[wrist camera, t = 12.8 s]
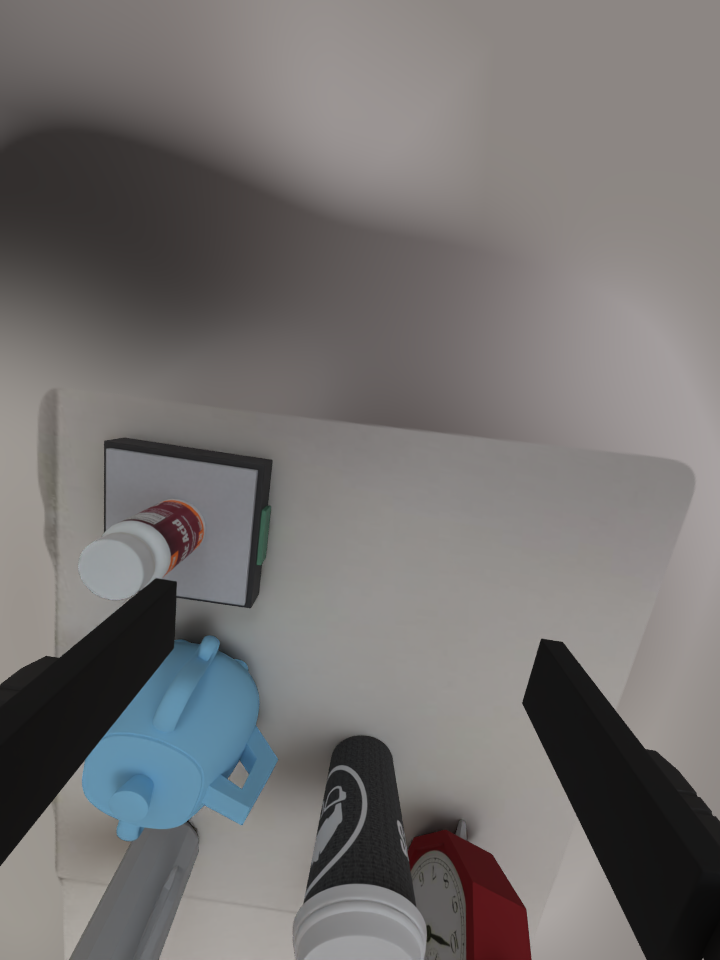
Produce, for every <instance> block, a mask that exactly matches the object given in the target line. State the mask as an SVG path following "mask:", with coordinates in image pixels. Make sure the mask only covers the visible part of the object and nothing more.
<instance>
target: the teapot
mask: <svg viewBox="0 0 720 960" xmlns="http://www.w3.org/2000/svg"><path fill="white" fill-rule="evenodd" d="M219 645H220V642H219V640H218V639H217V638H216V637H215V636H210V635H209V636H205V637H204V639H203V640H202V642H201V644H195V643H189V642H188V641H186V640H183V639H178V640H175V641H174V649H173V650H172V651H171V653H170V654H169V655H168V656H167V658H166V659H165V660H164V661H163V663H162V664H161V665H160V666H159V668H158V669H157V670H156V671H155V673H154V674H153V675H152V676H151V678H150V679H149V680H148V681H147V683H146V684H145V685H144V686H143V688H142V689H141V690H140V691H139V693H138V694H137V695H136V697H135V698H134V699H133V700H132V702H131V703H130V704H129V705H128V707H127V708H126V709H125V710H124V712H123V713H122V714H121V715H120V717H119V718H118V719H117V720H116V722H115V723H114V724H113V725H112V727H111V728H110V729H109V730H108V732H107V733H106V734H105V735H104V737H103V738H102V739H101V740H100V742H99V743H98V744H97V745H96V747H95V748H94V749H93V750H92V752H91V753H90V754H89V755H88V757H87V758H86V759H85V764H84V770H83V777H82V787H83V791H84V794H85V796H86V798H87V799H88V800H89V801H90V802H91V803H92V804H93V805H94V806H95V807H96V808H98V809H99V810H101V811H102V812H104V813H106V814H107V815H109V816H111V817H113V818H116V819H118V820H119V823H118V826H117V836H118V837H119V838H120V839H122V840H125V841H134V840H136V839H137V838H139V836H140V835H141V833H142V832H143V830H144V828H152V829H169V828H174V827H178V826H180V825H182V824H184V823H185V822H187V821H188V820H189V819H190V818H191V817H192V816H194V815H195V814H196V813H197V812H198V811H199V810H200V809H201V808H202V807H203V806H204V805H205V806H207V807H209V808H211V809H212V810H214V811H216V812H218V813H220V814H222V815H224V816H225V817H227V818H229V819H231V820H233V821H235V822H236V823H238V824H240V825H243V823H244V821H245V820H246V818H247V816H248V814H249V812H250V811H251V809H252V807H253V805H254V803H255V802H256V800H257V798H258V796H259V795H260V793H261V791H262V789H263V787H264V786H265V784H266V782H267V780H268V778H269V777H270V775H271V773H272V771H273V769H274V767H275V765H276V763H277V761H278V758H277V757H276V755H275V754H274V752H273V751H272V749H271V748H270V746H269V745H268V743H267V741H266V740H265V738H264V737H263V735H262V734H261V732H260V731H259V729H258V728H257V726H256V722H257V718H258V713H259V693H258V690H257V687H256V684H255V682H254V680H253V678H252V676H251V675H250V674H249V672H248V666H247V664H246V663H245V662H243V661H242V660H239V659H233V658H231V657H229V656H228V655H226V654H224V653H222V652H220V651H218V648H219ZM239 760H240V761H241V763H242V764H243V766H244V767H245V769H246V770H247V772H248V773H249V776H248V778H247V780H246V782H245V784H244V786H243V788H242V789H241V788H239V787H238V786H237V785H235V784H234V783H232V782H231V781H229V780H228V777H229V776H230V774H231V773H232V772H233V770H234V768H235V767H236V765H237V764H238V762H239Z"/></svg>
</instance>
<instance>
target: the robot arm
mask: <svg viewBox="0 0 720 960" xmlns="http://www.w3.org/2000/svg"><path fill="white" fill-rule="evenodd" d="M176 594H177V581H171V580H165V579H159V578H155V579H154V580H153V581H152V582H151V583H149V584H148V585H147V586H146V587H144V588H143V589H142V590H141V591H140V592H138V593H137V594H136V595H135V596H134V597H132V598H131V599H130V600H129V601H128V602H126V603H125V604H124V605H123V606H122V607H120V608H119V609H118V610H117V611H116V612H114V613H113V614H112V615H111V616H109V617H108V618H107V619H106V620H105V621H103V622H102V623H101V624H100V625H99V626H97V627H96V628H95V629H94V630H93V631H91V632H90V633H89V634H88V635H87V636H85V637H84V638H83V639H82V640H81V641H79V642H78V643H77V644H76V645H74V646H73V647H72V648H71V649H70V650H68V651H67V652H66V653H65V654H64V655H62V656H61V657H60V658H56V657H50V656H45V657H43V658H41V659H39V660H37V661H35V662H33V663H31V664H29V665H27V666H25V667H23V668H21V669H20V670H19V671H17V672H16V673H15V674H13V675H12V676H11V677H9V678H8V679H7V680H5V681H4V682H3V683H2V684H1V685H0V866H1V864H2V863H3V862H4V861H5V860H6V858H7V857H8V856H9V854H10V853H11V852H12V851H13V849H14V848H15V847H16V846H17V845H18V843H19V842H20V841H21V840H22V838H23V837H24V836H25V835H26V833H27V832H28V830H29V829H30V828H31V827H32V826H33V824H34V823H35V822H36V821H37V819H38V818H39V817H40V816H41V814H42V813H43V812H44V811H45V809H46V808H47V807H48V806H49V804H50V803H51V802H52V801H53V799H54V798H55V797H56V796H57V794H58V793H59V792H60V791H61V789H62V788H63V787H64V786H65V784H66V783H67V782H68V781H69V779H70V778H71V777H72V776H73V774H74V773H75V772H76V771H77V769H78V768H79V767H80V766H81V764H82V763H83V762H84V760H85V759H86V758H87V757H88V755H89V754H90V753H91V752H92V750H93V749H94V748H95V747H96V745H97V744H98V743H99V742H100V740H101V739H102V738H103V737H104V735H105V734H106V733H107V732H108V730H109V729H110V728H111V727H112V725H113V724H114V723H115V722H116V720H117V719H118V718H119V717H120V715H121V714H122V713H123V712H124V710H125V709H126V708H127V707H128V705H129V704H130V703H131V702H132V700H133V699H134V698H135V697H136V695H137V694H138V693H139V691H140V690H141V689H142V688H143V686H144V685H145V684H146V683H147V681H148V680H149V679H150V678H151V676H152V675H153V674H154V673H155V671H156V670H157V669H158V668H159V666H160V665H161V664H162V663H163V661H164V660H165V659H166V658H167V656H168V655H169V654H170V653H171V651H172V650H173V649H174V637H175V615H176ZM522 704H523V706H524V708H525V710H526V712H527V714H528V716H529V718H530V720H531V722H532V724H533V726H534V729H535V731H536V733H537V735H538V737H539V739H540V741H541V743H542V745H543V747H544V749H545V751H546V753H547V755H548V757H549V759H550V761H551V764H552V766H553V768H554V770H555V772H556V774H557V776H558V778H559V780H560V782H561V784H562V786H563V788H564V790H565V792H566V794H567V797H568V799H569V801H570V803H571V805H572V807H573V809H574V811H575V813H576V815H577V817H578V819H579V821H580V823H581V825H582V827H583V829H584V831H585V834H586V835H587V838H588V839H589V842H590V844H591V846H592V848H593V850H594V852H595V854H596V856H597V858H598V860H599V862H600V865H601V867H602V869H603V871H604V873H605V875H606V877H607V879H608V881H609V883H610V885H611V887H612V889H613V891H614V893H615V895H616V898H617V900H618V901H619V904H620V906H621V908H622V910H623V912H624V914H625V916H626V918H627V920H628V922H629V924H630V926H631V928H632V930H633V932H634V935H635V937H636V939H637V941H638V943H639V945H640V946H641V949H642V951H643V953H644V955H645V957H646V959H647V960H702V958H704V960H720V821H719V820H718V819H717V817H716V816H713V815H712V811H711V810H710V809H709V808H708V806H707V805H706V804H705V803H704V801H703V800H702V799H701V798H700V797H697V794H696V792H695V790H694V789H693V788H692V787H691V785H690V784H689V783H688V782H687V781H686V779H685V778H684V777H683V776H682V774H681V773H680V772H679V771H678V770H677V769H676V768H675V767H674V766H672V765H671V764H670V763H669V762H668V761H667V760H666V759H664V758H663V757H662V756H661V755H660V754H659V753H658V752H656V751H653V750H647V749H645V748H644V747H643V746H642V744H641V743H640V742H639V740H638V739H637V738H636V737H635V735H634V734H633V733H632V731H631V730H630V729H629V727H628V726H627V725H626V724H625V722H624V721H623V720H622V718H621V717H620V716H619V714H618V713H617V712H616V711H615V709H614V708H613V707H612V705H611V704H610V703H609V702H608V700H607V699H606V698H605V696H604V695H603V694H602V692H601V691H600V690H599V689H598V687H597V686H596V685H595V683H594V682H593V681H592V679H591V678H590V677H589V676H588V674H587V673H586V672H585V670H584V669H583V668H582V667H581V665H580V664H579V663H578V661H577V660H576V659H575V657H574V656H573V655H572V654H571V652H570V651H569V650H568V648H567V647H566V646H565V644H564V643H563V642H559V641H553V640H547V639H541V641H540V645H539V648H538V651H537V655H536V658H535V661H534V665H533V668H532V672H531V675H530V678H529V682H528V685H527V689H526V692H525V695H524V699H523V702H522Z"/></svg>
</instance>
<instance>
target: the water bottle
mask: <svg viewBox="0 0 720 960" xmlns="http://www.w3.org/2000/svg"><path fill="white" fill-rule="evenodd" d="M198 852H199V847H198V834H197V833H196V831H195V830H194V829H193V828H192V826H191V825H190V824H189V823H188V822H185V823H184V824H182V825H180V826H178V827H174V828H169V829H152V828H144V830H143V832H142V833H141V835H140V836H139V838H137V839H136V840H134V841H132V842H131V844H130V846H129V848H128V849H127V851H126V853H125V855H124V857H123V859H122V861H121V863H120V865H119V866H118V868H117V870H116V872H115V874H114V876H113V878H112V880H111V882H110V883H109V885H108V887H107V889H106V891H105V893H104V895H103V897H102V899H101V900H100V902H99V904H98V906H97V908H96V910H95V912H94V914H93V915H92V917H91V919H90V921H89V923H88V925H87V927H86V929H85V931H84V932H83V934H82V936H81V938H80V940H79V942H78V944H77V946H76V948H75V949H74V951H73V953H72V955H71V957H70V959H69V960H159V957H160V955H161V952H162V949H163V947H164V944H165V941H166V938H167V936H168V933H169V930H170V928H171V925H172V922H173V919H174V917H175V914H176V911H177V909H178V906H179V903H180V901H181V898H182V895H183V892H184V890H185V887H186V884H187V882H188V879H189V876H190V874H191V871H192V868H193V865H194V863H195V860H196V857H197V855H198Z"/></svg>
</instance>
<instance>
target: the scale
mask: <svg viewBox="0 0 720 960" xmlns="http://www.w3.org/2000/svg"><path fill="white" fill-rule="evenodd" d="M271 470H272V460H268V459H262V458H255V457H248V456H242V455H235V454H228V453H222V452H215V451H209V450H202V449H195V448H189V447H182V446H176V445H169V444H162V443H156V442H149V441H142V440H136V439H129V438H119V439H113V440H107V441H104V533H105V531H106V530H107V529H109V528H110V527H111V526H112V525H114V524H116V523H118V522H120V521H123V520H125V519H127V518H129V517H131V516H133V515H135V514H137V513H140V512H142V511H143V510H146V509H148V508H150V507H152V506H154V505H156V504H158V503H160V502H162V501H165V500H169V499H179V500H183V501H186V502H188V503H190V504H192V505H193V506H195V507H196V508H197V509H198V510H199V511H200V513H201V515H202V516H203V518H204V521H205V526H206V532H205V537H204V539H203V541H202V543H201V544H200V545H199V546H198V547H197V548H196V549H195V550H194V551H193V552H192V553H191V554H189V556H187V557H186V558H185V559H184V560H183V561H181V562H180V563H179V564H178V565H177V566H176V567H174V568H173V569H172V570H171V571H170V572H169V573H167V574H166V575H165V576H164V577H163V578H162V579H165V580H171V581H177V594H176V598H183V599H190V600H197V601H204V602H211V603H218V604H225V605H232V606H238V607H245V608H251V607H252V606H253V604H254V602H255V600H256V598H257V596H258V595H259V588H260V578H261V569H262V563H263V561H264V560H265V558H266V551H267V541H268V532H269V522H270V512H271V506H268V499H269V489H270V479H271ZM143 588H144V587H143ZM143 588H142V589H143ZM142 589H141V590H142ZM141 590H139V591H138V592H140V591H141Z"/></svg>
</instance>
